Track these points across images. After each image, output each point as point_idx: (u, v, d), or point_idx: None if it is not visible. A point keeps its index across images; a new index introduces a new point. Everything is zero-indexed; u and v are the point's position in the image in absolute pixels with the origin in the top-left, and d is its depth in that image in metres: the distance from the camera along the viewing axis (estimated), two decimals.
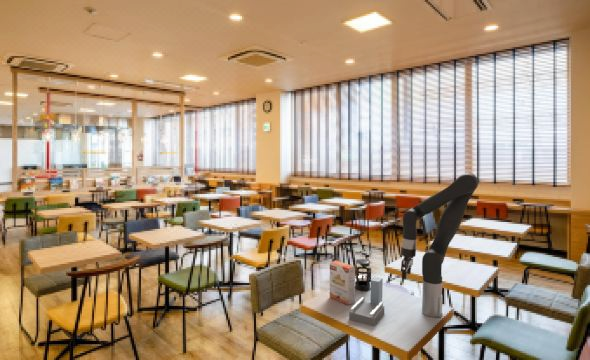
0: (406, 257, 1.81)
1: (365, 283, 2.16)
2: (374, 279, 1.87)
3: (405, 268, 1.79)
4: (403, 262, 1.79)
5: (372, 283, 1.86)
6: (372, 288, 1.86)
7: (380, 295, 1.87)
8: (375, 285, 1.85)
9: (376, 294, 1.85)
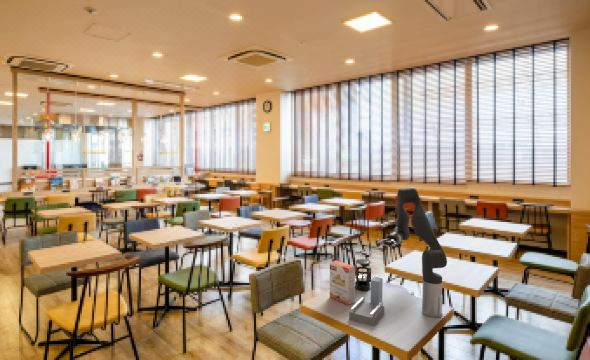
0: None
1: (365, 283, 2.16)
2: (374, 279, 1.87)
3: None
4: None
5: (372, 283, 1.86)
6: (372, 288, 1.86)
7: (380, 295, 1.87)
8: (375, 285, 1.85)
9: (376, 294, 1.85)
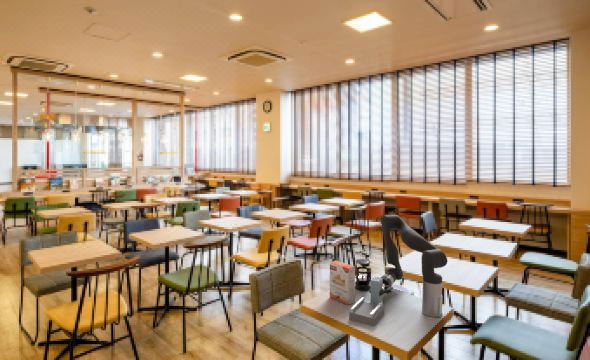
0: None
1: (365, 283, 2.16)
2: (374, 279, 1.87)
3: (369, 285, 1.95)
4: None
5: (372, 283, 1.86)
6: (372, 288, 1.86)
7: None
8: (375, 285, 1.85)
9: (376, 294, 1.85)
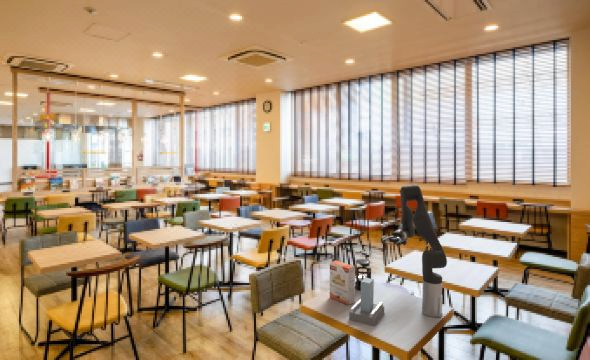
0: None
1: None
2: (364, 280, 1.75)
3: (381, 237, 2.05)
4: None
5: (362, 285, 1.74)
6: (362, 290, 1.74)
7: (371, 297, 1.75)
8: (366, 286, 1.73)
9: (367, 296, 1.73)
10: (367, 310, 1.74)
